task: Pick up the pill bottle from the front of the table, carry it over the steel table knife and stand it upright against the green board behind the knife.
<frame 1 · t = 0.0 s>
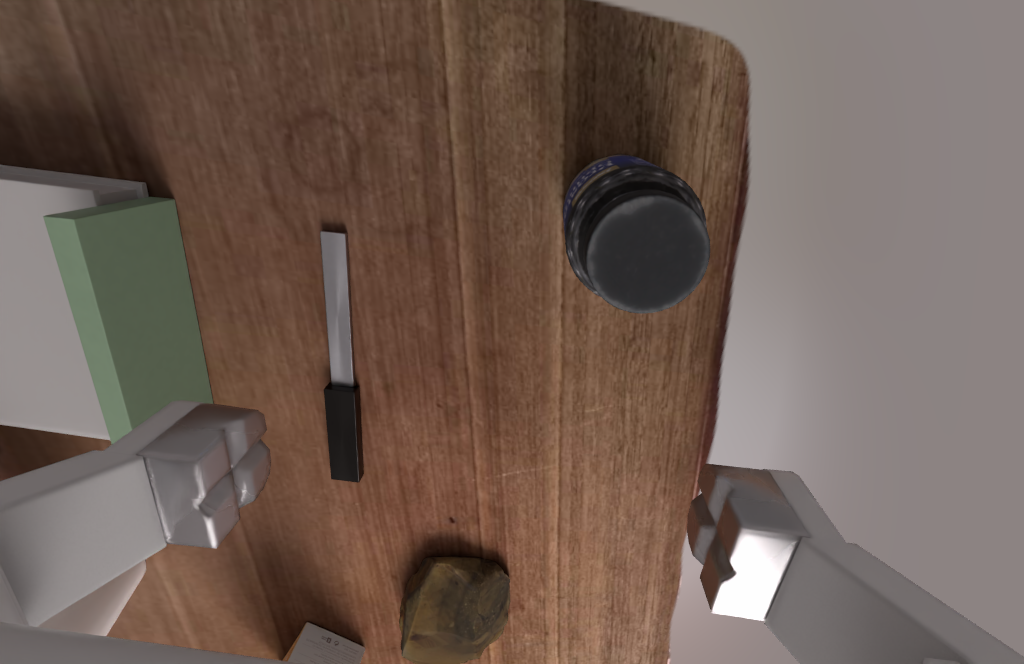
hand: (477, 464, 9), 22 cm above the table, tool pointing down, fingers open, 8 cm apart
green board: (193, 354, 35), on the table
white rectangular block: (10, 295, 34), on the table
small box: (322, 652, 47), on the table
pill bottle: (614, 208, 29), on the table
decorative stone: (458, 591, 43), on the table
cup: (111, 554, 44), on the table
table knife: (343, 371, 34), on the table
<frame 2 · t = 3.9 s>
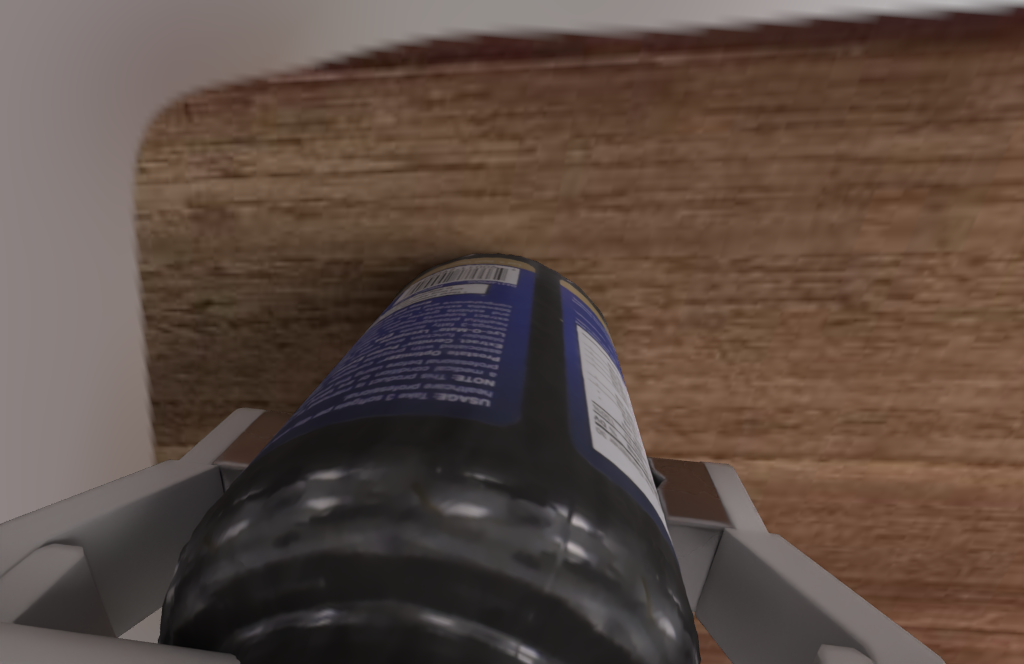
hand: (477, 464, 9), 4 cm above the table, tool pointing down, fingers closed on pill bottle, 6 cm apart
pill bottle: (498, 356, 13), on the table, touching gripper
when the fingers open (4 cm above the table, at t = 12.7 s): pill bottle stays where it is, on the table.
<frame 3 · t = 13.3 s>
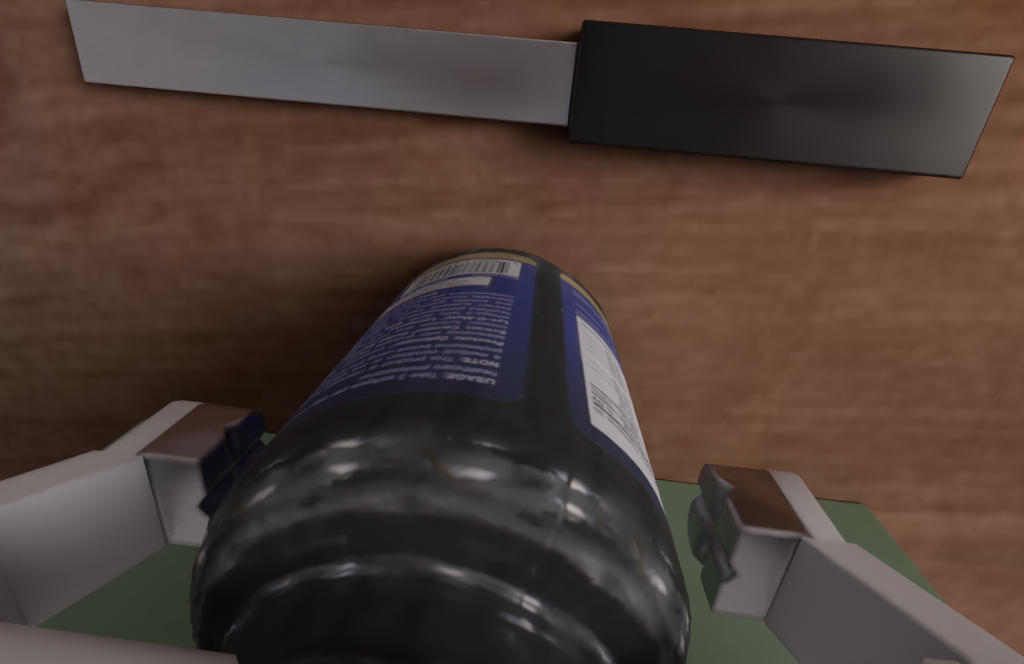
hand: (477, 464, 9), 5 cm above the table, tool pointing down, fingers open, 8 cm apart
green board: (493, 480, 15), on the table
pill bottle: (501, 349, 13), on the table
table knife: (527, 83, 11), on the table
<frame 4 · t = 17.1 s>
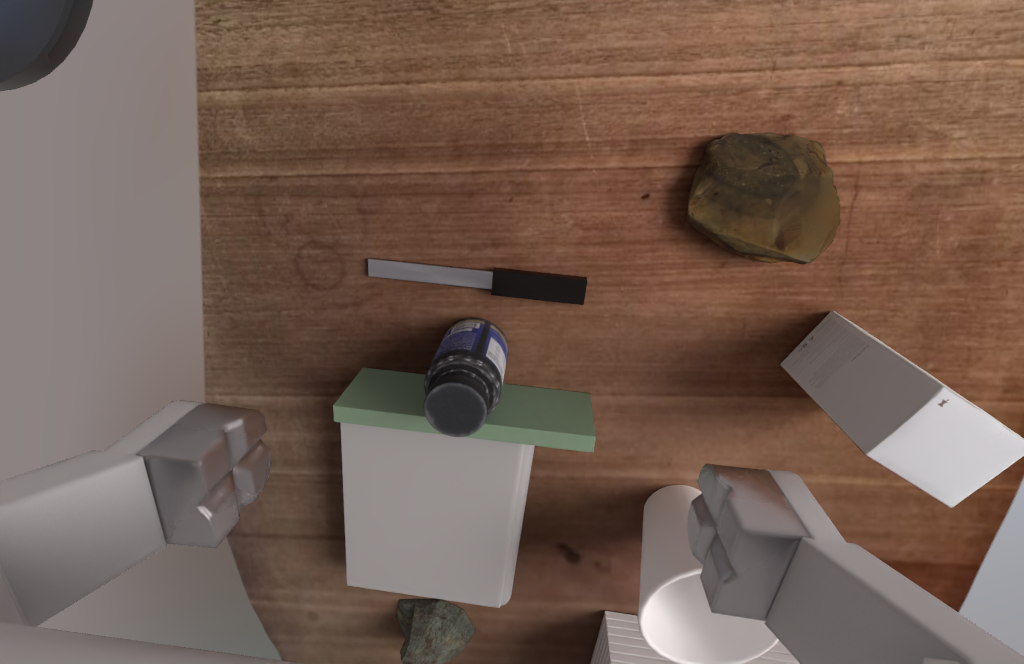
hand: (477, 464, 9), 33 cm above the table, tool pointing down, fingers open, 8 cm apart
green board: (475, 387, 47), on the table
white rectangular block: (441, 487, 52), on the table, touching green board
sword in stone: (436, 618, 61), on the table
small box: (837, 358, 43), on the table
pill bottle: (476, 345, 45), on the table
decorative stone: (753, 196, 38), on the table
stack of papers: (726, 657, 59), on the table
cup: (676, 509, 51), on the table
table knife: (481, 278, 42), on the table
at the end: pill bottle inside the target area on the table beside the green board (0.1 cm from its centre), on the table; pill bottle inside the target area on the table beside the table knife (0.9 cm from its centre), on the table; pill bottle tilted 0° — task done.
